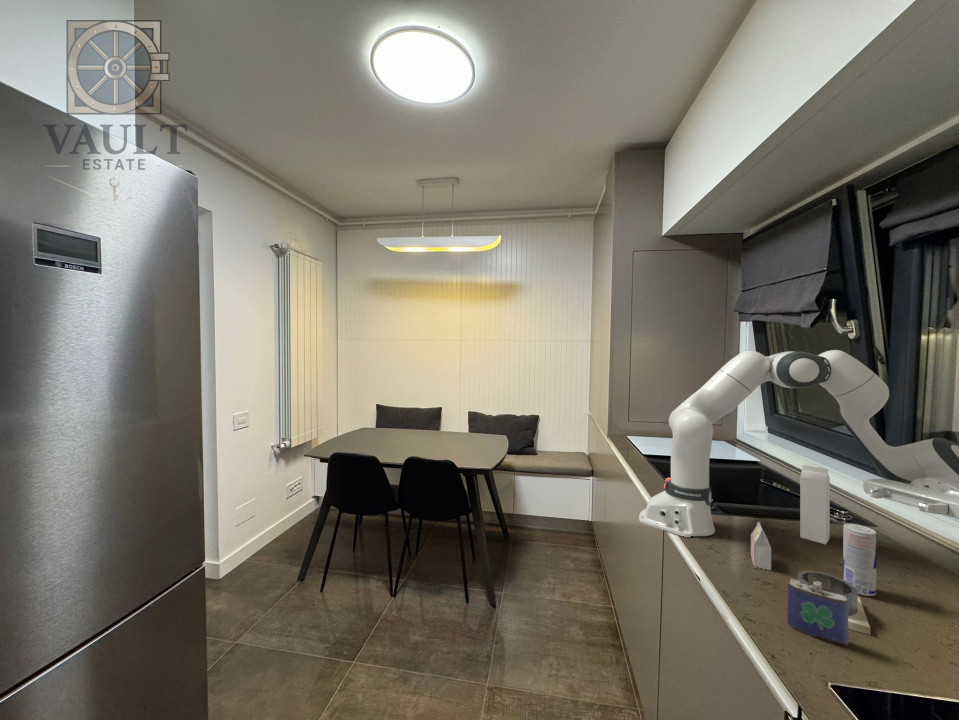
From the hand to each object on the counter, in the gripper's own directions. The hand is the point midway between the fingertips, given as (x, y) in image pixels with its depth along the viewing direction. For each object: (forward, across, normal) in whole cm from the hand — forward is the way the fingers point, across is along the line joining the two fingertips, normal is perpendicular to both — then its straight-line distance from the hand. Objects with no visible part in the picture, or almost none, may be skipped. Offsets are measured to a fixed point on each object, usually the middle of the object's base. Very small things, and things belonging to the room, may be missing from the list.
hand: (897, 501), depth 93 cm
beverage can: (+12, 0, +20) cm, 24 cm away
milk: (-6, -23, +20) cm, 31 cm away
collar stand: (+27, +2, +20) cm, 34 cm away
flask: (+38, +8, +20) cm, 44 cm away
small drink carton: (+24, -16, +20) cm, 35 cm away
